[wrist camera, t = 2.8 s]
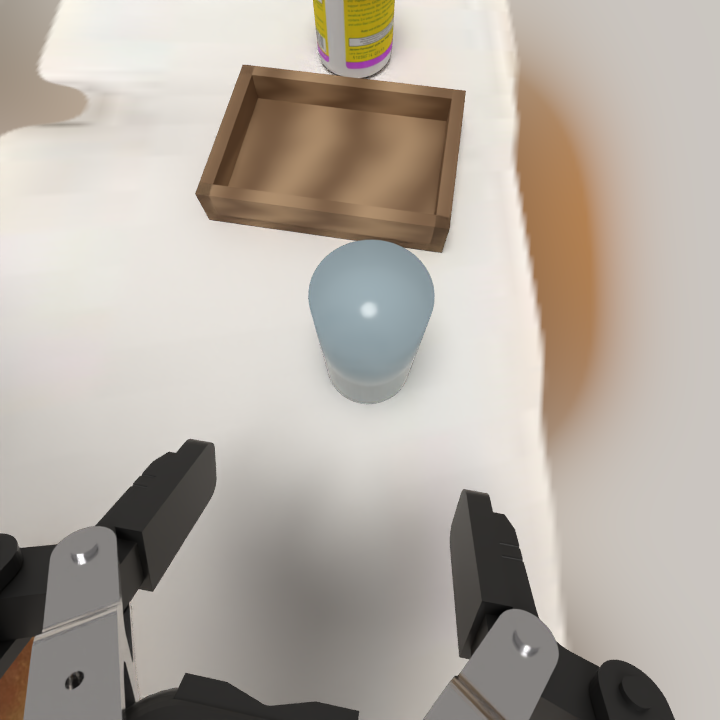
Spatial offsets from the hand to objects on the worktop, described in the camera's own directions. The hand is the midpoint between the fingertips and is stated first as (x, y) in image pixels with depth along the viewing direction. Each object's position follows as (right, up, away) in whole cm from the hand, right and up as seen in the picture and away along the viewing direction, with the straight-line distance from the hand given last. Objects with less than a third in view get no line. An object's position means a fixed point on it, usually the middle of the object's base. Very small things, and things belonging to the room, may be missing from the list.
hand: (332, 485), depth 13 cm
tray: (-1, +19, +20) cm, 28 cm away
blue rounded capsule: (+1, +4, +15) cm, 15 cm away
